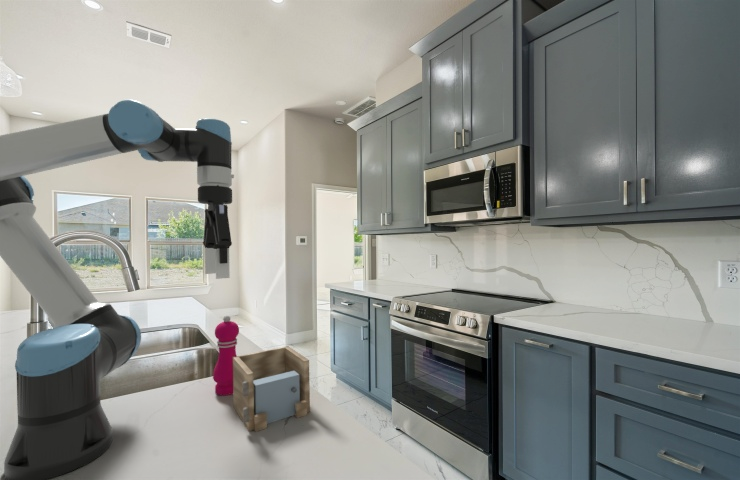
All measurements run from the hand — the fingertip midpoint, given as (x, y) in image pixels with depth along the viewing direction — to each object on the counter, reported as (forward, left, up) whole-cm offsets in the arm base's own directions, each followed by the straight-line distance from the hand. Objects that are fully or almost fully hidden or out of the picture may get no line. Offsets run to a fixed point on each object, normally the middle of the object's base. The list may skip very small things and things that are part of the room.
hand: (216, 275), depth 83 cm
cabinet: (+10, -8, -32) cm, 34 cm away
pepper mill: (+4, +9, -32) cm, 33 cm away
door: (+10, -12, -32) cm, 35 cm away
